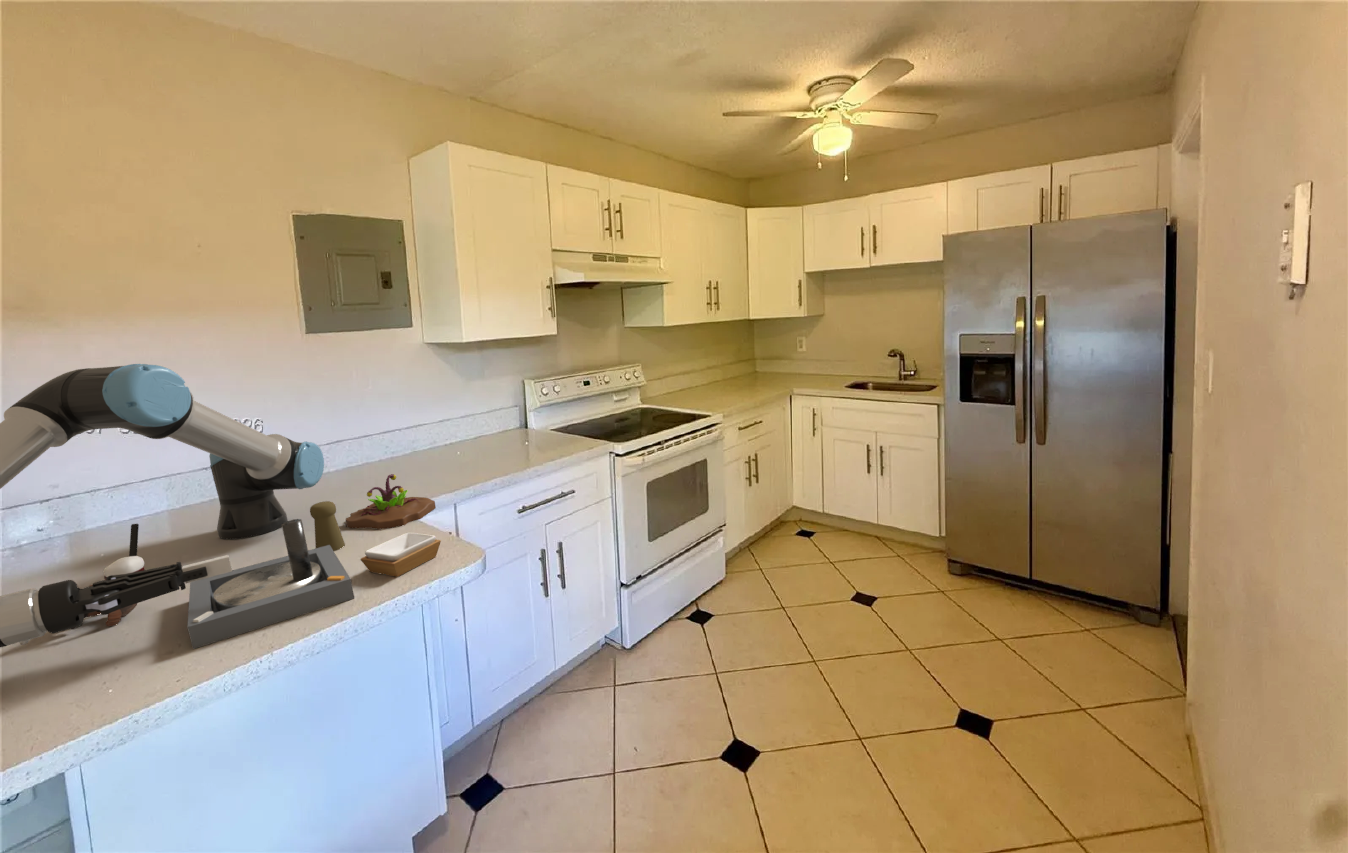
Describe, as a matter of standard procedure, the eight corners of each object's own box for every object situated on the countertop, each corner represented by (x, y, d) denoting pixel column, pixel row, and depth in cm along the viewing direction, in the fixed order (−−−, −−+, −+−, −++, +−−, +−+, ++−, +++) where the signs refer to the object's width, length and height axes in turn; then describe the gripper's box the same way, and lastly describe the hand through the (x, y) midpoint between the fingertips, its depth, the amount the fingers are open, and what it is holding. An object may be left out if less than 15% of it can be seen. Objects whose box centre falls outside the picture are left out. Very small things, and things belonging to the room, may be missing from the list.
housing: (194, 599, 118) (189, 579, 117) (333, 561, 132) (329, 543, 131) (193, 649, 99) (186, 625, 98) (354, 598, 113) (350, 576, 112)
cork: (332, 553, 137) (323, 507, 135) (309, 553, 138) (300, 507, 136) (351, 543, 143) (342, 498, 140) (329, 542, 144) (320, 498, 142)
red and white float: (112, 599, 122) (95, 545, 119) (95, 594, 125) (78, 541, 122) (166, 577, 130) (150, 525, 127) (149, 573, 133) (134, 522, 130)
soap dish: (397, 581, 120) (392, 557, 119) (362, 575, 124) (358, 552, 123) (443, 556, 131) (440, 533, 130) (410, 551, 135) (407, 530, 134)
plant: (449, 505, 168) (442, 466, 165) (399, 531, 149) (391, 488, 147) (389, 503, 173) (382, 466, 171) (334, 529, 155) (326, 487, 153)
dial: (192, 616, 107) (174, 546, 104) (255, 574, 123) (241, 513, 121) (289, 607, 107) (274, 538, 104) (338, 567, 124) (326, 506, 121)
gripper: (57, 618, 99) (233, 571, 113) (41, 649, 89) (236, 594, 103) (44, 575, 98) (224, 534, 112) (27, 602, 87) (227, 553, 101)
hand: (230, 563), depth 107 cm, fingers closed
